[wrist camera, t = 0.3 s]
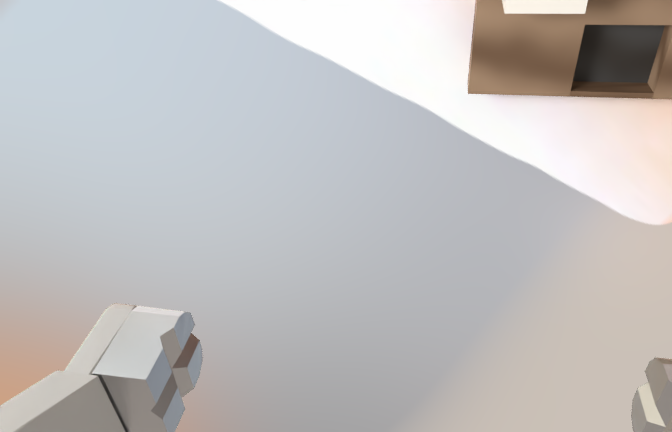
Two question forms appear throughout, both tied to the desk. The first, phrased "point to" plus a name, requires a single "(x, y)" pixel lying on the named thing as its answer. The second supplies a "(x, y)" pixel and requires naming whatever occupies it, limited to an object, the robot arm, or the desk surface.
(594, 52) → the board
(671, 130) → the desk surface
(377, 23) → the desk surface
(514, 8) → the block
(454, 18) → the desk surface
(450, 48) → the desk surface
